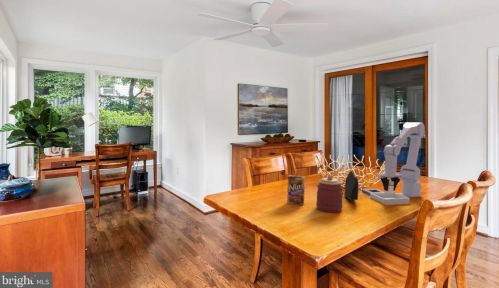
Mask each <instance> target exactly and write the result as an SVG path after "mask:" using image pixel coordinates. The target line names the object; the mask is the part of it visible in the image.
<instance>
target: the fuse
mask: <svg viewBox="0 0 499 288" xmlns="http://www.w3.org/2000/svg"><path fill="white" fill-rule="evenodd" d="M393 190H394V181H391V180H390V181H389V184H388V191H385V190H384V192H385V195H386V196H393V192H394V191H393Z"/></svg>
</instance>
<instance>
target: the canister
mask: <svg viewBox="0 0 499 288" xmlns="http://www.w3.org/2000/svg"><path fill="white" fill-rule="evenodd" d="M342 183H343V181H341V180H339V178H335V177H333V175H332V174H328V175H327V177H323V178H322V177H321V179H319V180H318V183H317V184H316V187H317V190H316V203H315V206H316V209H318V211H321V212H325V213H340V212H341V211H342V210H343V207H344V206H343V198H344V197H343V194H344V192H343V189H344V185H342Z"/></svg>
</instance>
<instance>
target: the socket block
mask: <svg viewBox="0 0 499 288" xmlns="http://www.w3.org/2000/svg"><path fill="white" fill-rule="evenodd" d="M383 192H384V190H380V189H378V188H363V189H361V191H360V190H358V193H360V194H362V195H365V196H367V197H369V198H370V193H383Z"/></svg>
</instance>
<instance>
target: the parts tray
mask: <svg viewBox="0 0 499 288" xmlns="http://www.w3.org/2000/svg"><path fill="white" fill-rule="evenodd" d="M369 198H370V199H372V200H374V201H376V202H378V203H381V204H383V206H391V205H408V204H410V201H411V197H406V196H403V195H401V194H398V193H396V192H395V191H393V196H386V195H385V191H383V193H370V197H369Z"/></svg>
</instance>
